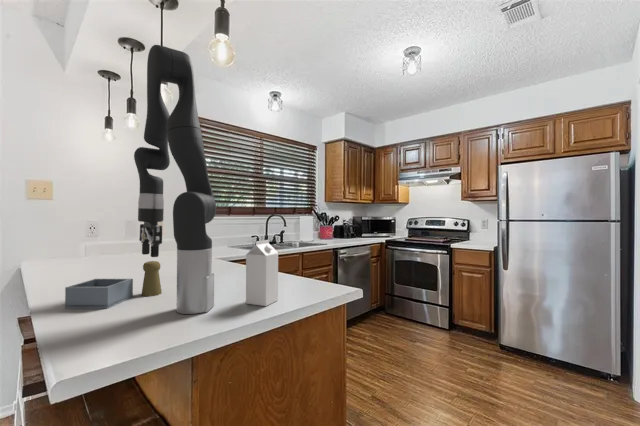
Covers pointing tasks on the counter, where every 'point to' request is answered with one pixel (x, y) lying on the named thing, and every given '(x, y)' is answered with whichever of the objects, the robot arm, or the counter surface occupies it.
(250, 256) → the milk carton
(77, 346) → the counter surface
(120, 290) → the crate
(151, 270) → the cork
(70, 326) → the counter surface
